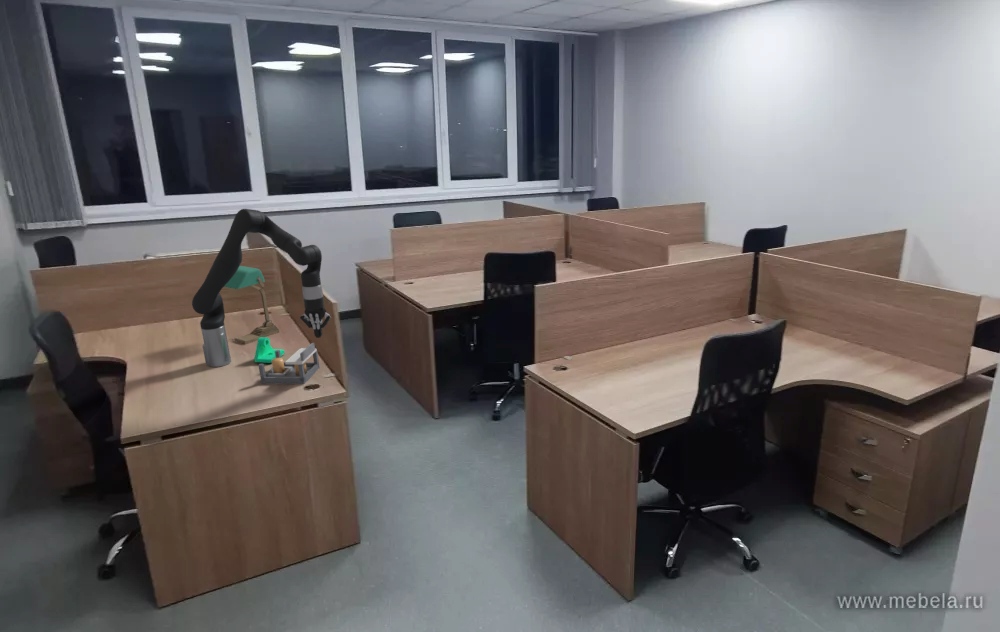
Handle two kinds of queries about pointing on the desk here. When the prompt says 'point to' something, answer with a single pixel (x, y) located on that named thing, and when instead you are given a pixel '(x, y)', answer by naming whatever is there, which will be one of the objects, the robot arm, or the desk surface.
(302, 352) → the lid
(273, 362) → the tan egg
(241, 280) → the banker's lamp
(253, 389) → the desk surface
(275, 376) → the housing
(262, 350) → the camera mount
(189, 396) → the desk surface
